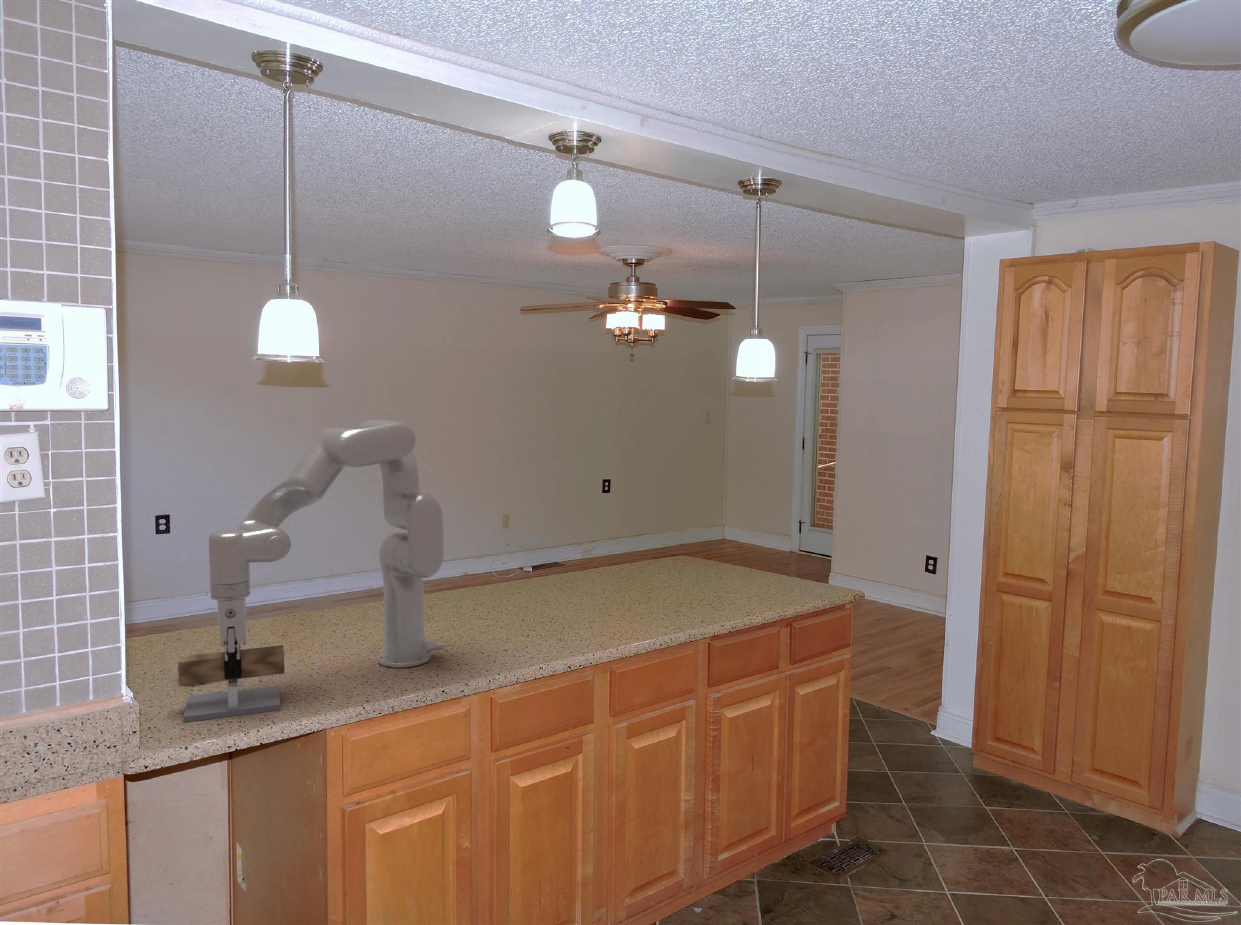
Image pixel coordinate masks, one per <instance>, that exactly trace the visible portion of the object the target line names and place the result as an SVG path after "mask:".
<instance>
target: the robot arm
mask: <svg viewBox="0 0 1241 925" xmlns="http://www.w3.org/2000/svg"><path fill="white" fill-rule="evenodd" d="M416 437H417V436H416V433H415V431H414V429H413V428H412V427H411V426H410V425H409V424H407V423H405V422H403V421H397V420H385V419H369V420H365V421H364V422H362V423H360V425H358V428H345V427H344V428H343V427H329V428H326V429H324V430H323V431H322V432H321V433H320V434H319V435H318V436H317V438H316V439H315V440H314V441H313V442H312V444H311V445H310V447H309V448H308V450H307V451H306V452H305V454H304V455H303V456H302V458H301V459H300V461H298V463H297V465H295V467H294V468H293V470H292V471H291V472H290V473H289V475H288V476H287V477H286V478H285V479H284V480H283V481H281V482H280V483H279V484H277V485H276V486H275V487H274V488H272V489H271V490H270V491H269V492H267V493H266V494H265V495H264V496H262V498H260V499H259V500H258V501H257V503H256V504H255V505H254V506H253V507H252V508H251V510H250V511H249V512H248V514H247V515H246V516H245V518H244V519H243V520H242V521H241V523H240V525H239V526H238V528H232V529H231V528H227V529H221V530H220V529H219V530H216V531H213V532H212V533H211V534H210V535H209V537H208V555H209V557H208V560H209V564H208V565H209V584H210V585H209V586H210V587H209V588H210V590H209V591H210V599H212V600H214V601H217V602H216V603H217V619H218V620H217V622H218V632H219V641H220V646H221V647H223V648H224V652H225V660H224V673H225V679H234V678H240V677H241V676H242V671H241V658H240V652H239V650H241V645H243V646H245V645H247V643H248V626H247V622H248V620H247V603H246V598H247V597H249V596H251V577H250V576H251V575H250V574H251V573H250V571H251V570H250V564H251V563H273V562H274V563H275V562H278V561H280V560H282V559H284V558H285V557H287V555H288V554H289V552H290V550H291V546H292V542H291V541H292V540H291V538H290V536H289V534H288V533H287V532H286V531H284V530H283V529H282V528H279V527H280V526H281V525H282V523H283V522H284V521H285V520H286V519H288V517H290V516H291V515H293V514H294V513H295V512H298V511H299V510H301V509H304V508H306V507H308V506H311V505H314V504H315V503H318V502H319V501H320V500H322V499H323V498H324V496H325V495H326V493H327V492H328V490H329V489H330V488H331V486H332V485H333V483H334V482H335V481H336V479H337V477H338V476H339V475H340V474H341V472H342V471H343V469H344V468H345V467H347V468H361V467H366V466H367V467H369V466H372V465H377V464H378V465H379V467H380V472H381V477H382V501H383V502H382V503H383V506H382V507H383V517H384V519H385V521H386V523H388V524H389V525H390V526H392V527H394V528H397V529H402V530H406V532H395V533H391V534H390V535H388V536H387V537H385V539H384V540H383V541H382V543H381V545H380V548H379V563H380V564H379V565H380V569H381V574H382V581H383V626H384V628H383V629H384V630H383V632H384V634H383V635H384V641H383V642H384V651H383V652H380V654H379V655H378V656H377V661H378V663H379V664H380V665H382V666H385V667H388V668H411V667H416V666H419V665H423V664H426V663H427V662H429V661H430V660H431V658H432V657H431V656H432V655H431V652H432V651H442V650H443V651H444V647H445V646H444V641H438V642H437V640H431V641H428V640H426V639H425V614H424V613H425V606H424V605H425V587H424V581H423V579H428V578H430V577H433V576H435V575H436V574H437V573H438V572H439V570H440V569H441V567H442V564H443V560H444V552H445V551H444V550H445V548H444V545H445V542H444V518H443V517H444V516H443V510H442V507H441V504H440V502H439V501H438V499H437V498H436V497H435V496H433V495H432V494H429V493H427V492H422V491H421V489H420V480H419V479H420V478H419V468H418V467H419V466H418V464H417V460H416V457H415V455H414V453H413V450H414V448H415V447H416V442H417V438H416Z"/></svg>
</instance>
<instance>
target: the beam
mask: <svg viewBox="0 0 1241 925" xmlns="http://www.w3.org/2000/svg"><path fill="white" fill-rule="evenodd" d="M239 652H240V658H241V671H242V676H241V677H240V678H234V679H225V673H224V660H225V651H218V652H209V653H199V654H189V655H181V656H180V655H179V657H178V662H177V665H178V666H177V672H178V686H179V687H184V686H187V685H190V686H194V684H200V685H201V684H209V683H217V682H225V681H227V682H228V680H235V679H238V680H241V679H242V680H243V679H248V678H249V679H250V678H257V677H258V678H259V677H266V676H273V675H285V673H286V672H285V648H284V644H282V645H274V646H273V645H270V646H265V647H256V648H255V647H254V648H243V649H240V650H239Z"/></svg>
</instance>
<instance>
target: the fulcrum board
mask: <svg viewBox="0 0 1241 925" xmlns="http://www.w3.org/2000/svg"><path fill="white" fill-rule="evenodd" d="M239 686H240V685H239V679H235V680H227V690H226V691H219V692H211V693H210V692H209V693H201V694H200V693H199V694H194V695H188V696H187V699H186V703H185V709H184V713H183V723H188V722H189V723H190V722H197V721H206V720H212V719H213V720H214V719H221V718H229V717H235V716H244V715H249V714H250V715H251V714H260V713H261V714H262V713H267V712H274V711H281V697H280V696H281V695H280V685H279V684H277V685H271V686H270V685H269V686H267V685H266V686H259V687H252V688H245V689H244V688H242V689H239Z"/></svg>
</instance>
